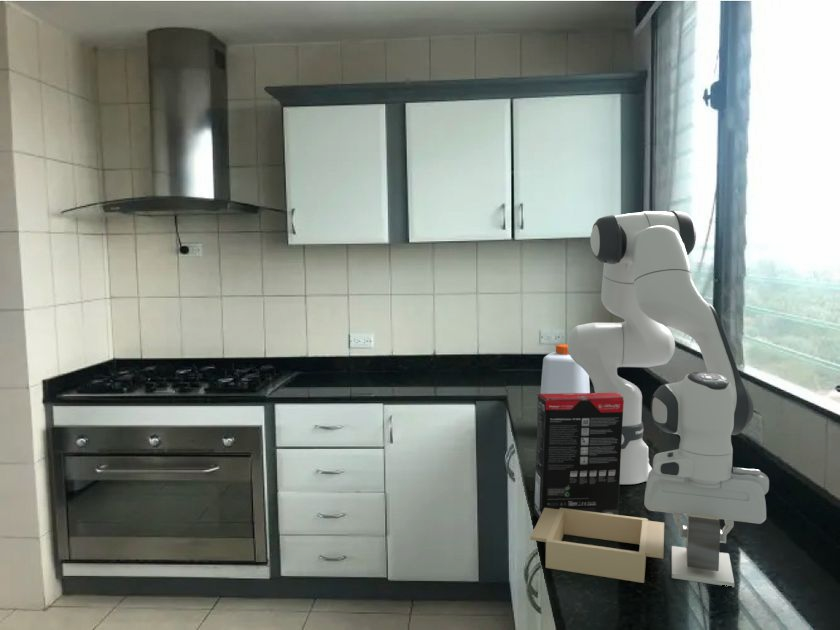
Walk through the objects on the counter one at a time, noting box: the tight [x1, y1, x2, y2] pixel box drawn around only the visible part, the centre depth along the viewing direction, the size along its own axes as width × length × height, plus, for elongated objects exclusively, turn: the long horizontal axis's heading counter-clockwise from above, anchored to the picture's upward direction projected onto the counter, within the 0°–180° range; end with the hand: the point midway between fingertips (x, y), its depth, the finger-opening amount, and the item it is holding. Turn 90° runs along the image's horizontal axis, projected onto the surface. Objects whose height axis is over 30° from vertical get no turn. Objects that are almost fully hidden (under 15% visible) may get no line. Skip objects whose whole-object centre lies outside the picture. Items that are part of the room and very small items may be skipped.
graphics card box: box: [533, 392, 624, 520], centre depth 146 cm, size 17×7×27 cm, turn 96°
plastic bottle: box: [539, 343, 591, 394], centre depth 212 cm, size 15×15×28 cm
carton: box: [530, 508, 665, 584], centre depth 130 cm, size 17×23×5 cm
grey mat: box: [671, 545, 735, 588], centre depth 125 cm, size 12×10×1 cm
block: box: [685, 515, 721, 571], centre depth 124 cm, size 11×5×8 cm, turn 160°
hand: (701, 538), depth 125 cm, fingers closed on block, 5 cm apart
